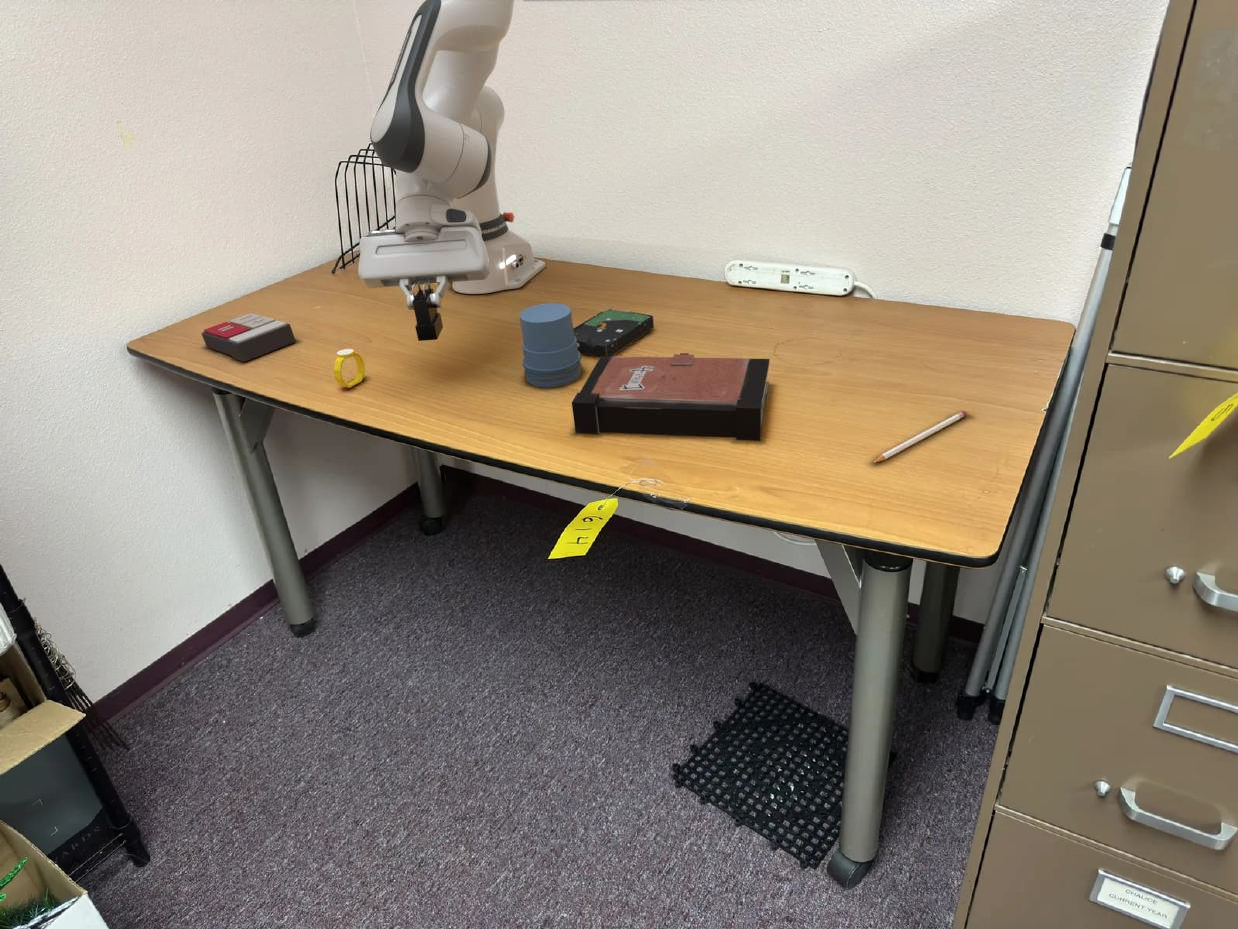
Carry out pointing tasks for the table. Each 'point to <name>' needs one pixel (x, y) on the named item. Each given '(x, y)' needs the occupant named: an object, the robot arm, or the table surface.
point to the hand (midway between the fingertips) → (424, 307)
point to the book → (674, 397)
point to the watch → (338, 365)
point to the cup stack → (549, 345)
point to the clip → (426, 314)
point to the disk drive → (611, 332)
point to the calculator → (248, 336)
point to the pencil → (921, 436)
